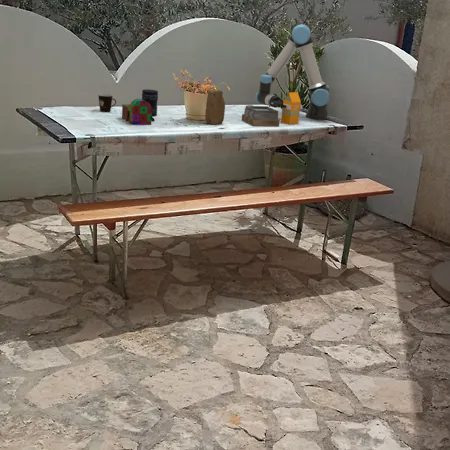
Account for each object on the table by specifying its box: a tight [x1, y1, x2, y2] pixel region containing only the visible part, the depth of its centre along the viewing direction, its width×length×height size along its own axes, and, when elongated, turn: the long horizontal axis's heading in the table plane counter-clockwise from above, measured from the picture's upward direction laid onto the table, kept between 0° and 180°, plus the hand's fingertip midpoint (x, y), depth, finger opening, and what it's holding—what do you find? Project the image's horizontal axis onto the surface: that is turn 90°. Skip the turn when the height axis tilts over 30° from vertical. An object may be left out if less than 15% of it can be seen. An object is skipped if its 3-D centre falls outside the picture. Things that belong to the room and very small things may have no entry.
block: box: [204, 89, 226, 125], centre depth 362 cm, size 11×8×20 cm
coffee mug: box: [98, 93, 117, 113], centre depth 368 cm, size 12×9×10 cm
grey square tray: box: [241, 105, 281, 127], centre depth 378 cm, size 18×18×10 cm
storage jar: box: [141, 89, 159, 118], centre depth 370 cm, size 10×10×15 cm
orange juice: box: [280, 91, 302, 125], centre depth 386 cm, size 8×9×20 cm
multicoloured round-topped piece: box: [121, 98, 156, 126], centre depth 352 cm, size 25×17×14 cm
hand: (296, 107), depth 383 cm, fingers closed on orange juice, 9 cm apart
